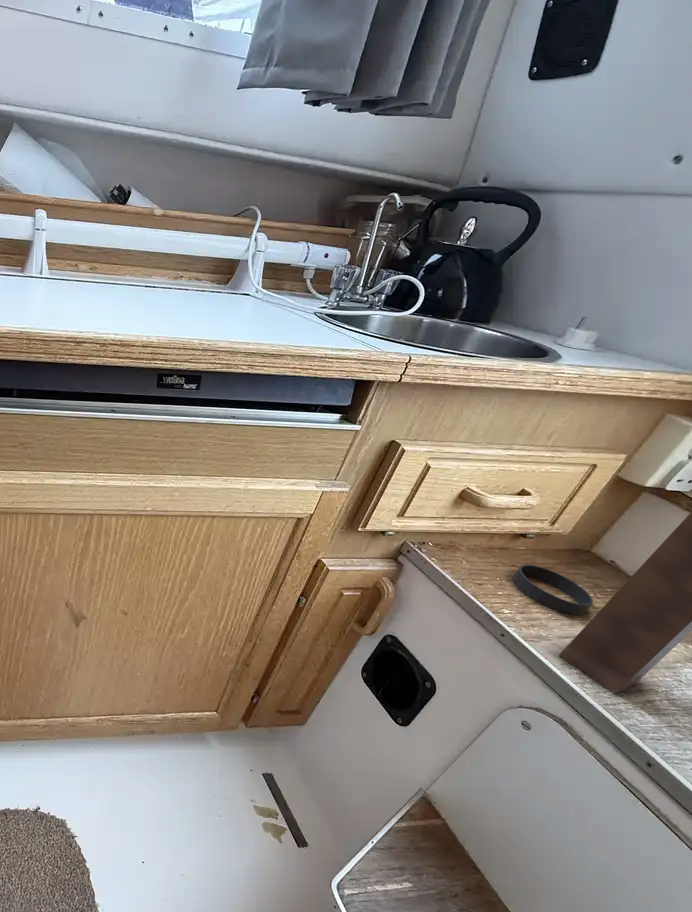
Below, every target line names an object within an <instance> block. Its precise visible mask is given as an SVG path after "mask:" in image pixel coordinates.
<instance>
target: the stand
mask: <svg viewBox="0 0 692 912" xmlns="http://www.w3.org/2000/svg"><path fill="white" fill-rule="evenodd" d="M691 632H692V511H691V512H690V513H689V514H687V516H686V517H685V518H684V519H683V520H682V521H681V522H680V523H679V525H678V526H677V527H675V529H674V530H673V531H672V532H671V533H670V534H669V535H668V537H666V539H664V541H663V542H661V544H660V545H659V546H658V547H657V548H656V549H655V551H654V552H653V553H652V554H651V555H650V556H649V557H648V558H647V559H646V560H645V561H644V562H643V563H642V565H641V566H640V567H639V568H638V569H637V570H636V571H635V572H634V574H632V575H631V576H630V577H629V579H628V580H627V581H626V582H625V583H624V584H623V585H622V586H621V587H620V588H619V589H618V591H616V593H614V595H612V597H611V598H610V599H609V600H608V601H607V602H606V603H605V604H604V606H603V607H602V608H601V609H600V610H599V611H598V612H597V613H596V614H595V615H594V616H593V617H592V618H591V619H590V620H589V621H588V622H587V624H586V625H585V626H584V627H583V628H582V629H581V631H580V632H579V633H578V634H577V635H575V637H574V638H572V640H571V641H570V642H569V643H568V644H567V646H566V647H565V648H564V649H563V650H562V651H561V652H560V653H559V654H558V656H559V657H560V658H561V659H563V660H564V661H566V662H567V663H569V664H570V665H571V666H574V667H575V668H576V669H578V670H579V671H580V672H582V673H584V674H585V675H587V677H589V678H591V679H592V680H594V681H595V682H597V683H598V684H600V685H601V686H603V688H606V689H607V690H609V691H610V692H612V693H613V694H615V695H616V694H618V693H619V692H621V691H623V690H626V689H627V688H628V687H631V686H632V685H634V684H637V683H638V682H639V681H640V680H641V679H642V678H643V677H644V676H646V675H647V673H648V672H650V670H652V669H653V668H654V667H655V666H656V665H657V664H659V662H660V661H661V660H662V659H663V658H665V657H666V656H667V655H668V654H669V653H670V652H671V651H672V650H673V649H674V648H676V646H677V645H679V644H680V643H681V642H682V640H684V639H685V638H686V637H687V636H688V635H689V634H690V633H691Z"/></svg>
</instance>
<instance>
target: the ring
mask: <svg viewBox="0 0 692 912" xmlns="http://www.w3.org/2000/svg"><path fill="white" fill-rule="evenodd" d="M527 577H531V578H536V579H539V580H541V581H544V582H545V583H547V584H550V585H552V586H554V587H556V588H558V589H560V590H561V591H563V592H565V593H566V594H568V595H569V596H570V597H572V598H573V600H575V601H576V602H577V603H576V602H574V601H573V602H572V601H568V600H566V599H563V598H560V597H558V596H556V595H554V594H552V593H550V592H548V591H546V590H544V589H542V588H541V587H539V586H537V585H536V584H535V583H533V582H532V581H531V580H530V579H529V578H527ZM511 579H512V582H513V584H514V585H515V586H516V588H517V589H518V590H520V591H521V592H522V593H523V594H524V595H525V596H528V597H529V598H530V599H532V600H533V601H535V602H537V603H538V604H541V605H543V606H544V607H546V608H548V609H551V610H554V611H556V612H559V613H562V614H565V615H569V616H581V615H583V614H585V613H586V612H587V610H588V609H589V608H590V607H591V606H592V605H593V603H594V599H593V597H592V595H591V594H590V593H589V592H588V591H587V590H585V589H584V588H583V586H581V585H579V584H578V583H577V582H575V581H573V580H572V579H570V578H568V577H566V576H564V575H562V574H561V573H558V572H556V571H554V570H552V569H551V570H550V569H549V568H546V567H543V566H538V565H534V564H522V565H520V566H519V567H518V569H517V570H516V571H515V573H514V574H513V575H512V577H511Z"/></svg>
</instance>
